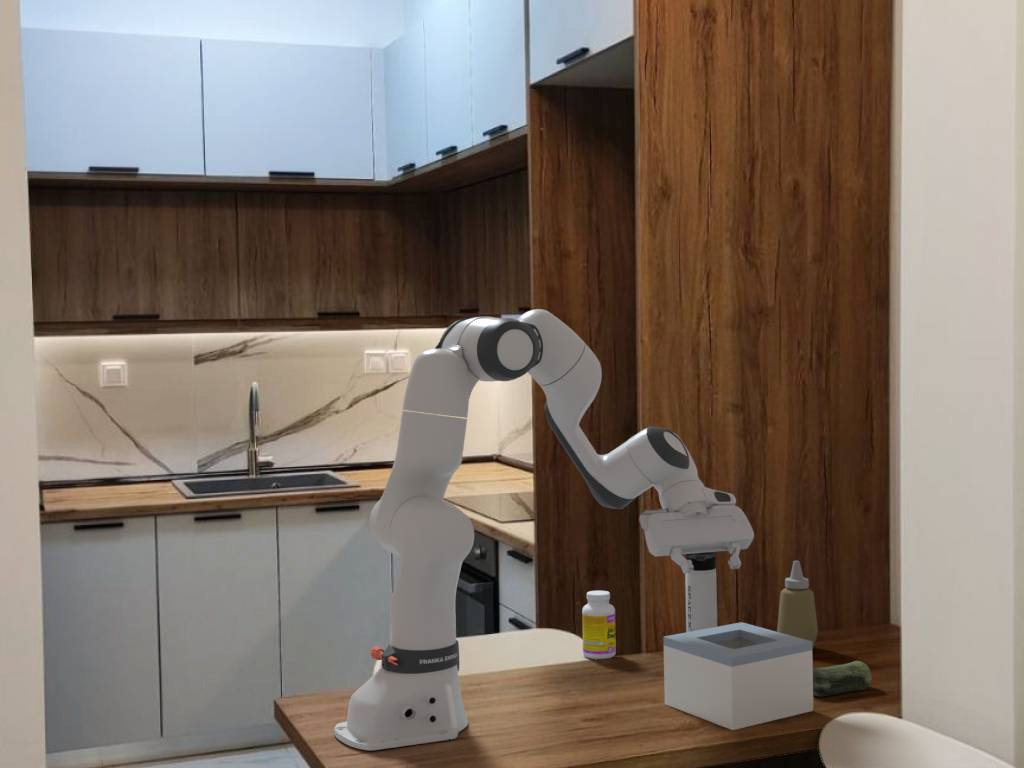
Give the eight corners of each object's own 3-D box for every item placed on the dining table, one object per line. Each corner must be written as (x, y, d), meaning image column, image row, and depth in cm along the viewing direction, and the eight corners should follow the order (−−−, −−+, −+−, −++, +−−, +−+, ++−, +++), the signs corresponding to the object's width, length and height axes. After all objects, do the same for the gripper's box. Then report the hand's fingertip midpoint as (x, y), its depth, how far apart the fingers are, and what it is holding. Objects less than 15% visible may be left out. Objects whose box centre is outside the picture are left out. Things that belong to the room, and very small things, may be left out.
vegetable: (858, 683, 241) (858, 656, 241) (877, 690, 236) (877, 662, 236) (797, 694, 235) (796, 666, 235) (816, 701, 230) (815, 673, 230)
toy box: (732, 730, 215) (731, 657, 214) (664, 704, 230) (663, 636, 230) (813, 710, 224) (812, 641, 224) (742, 687, 240) (741, 622, 239)
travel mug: (716, 644, 271) (714, 548, 270) (718, 652, 264) (716, 554, 263) (686, 644, 272) (684, 548, 271) (687, 652, 265) (685, 554, 264)
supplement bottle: (610, 661, 260) (609, 597, 260) (578, 658, 263) (577, 595, 262) (619, 652, 266) (618, 590, 266) (588, 650, 269) (587, 588, 268)
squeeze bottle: (786, 655, 261) (784, 565, 260) (771, 645, 269) (770, 558, 268) (824, 652, 262) (823, 563, 261) (809, 643, 270) (807, 556, 269)
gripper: (641, 500, 237) (665, 563, 228) (741, 493, 244) (768, 554, 235) (631, 521, 242) (654, 584, 233) (730, 514, 248) (756, 574, 239)
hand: (712, 569), depth 234 cm, fingers open, 8 cm apart
